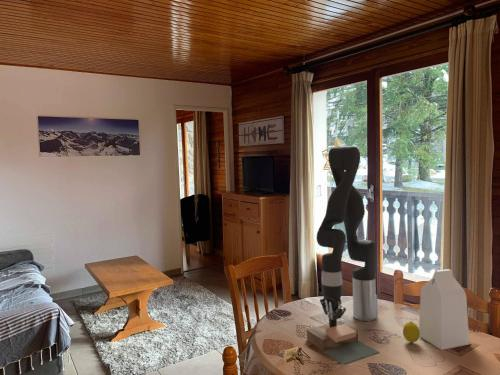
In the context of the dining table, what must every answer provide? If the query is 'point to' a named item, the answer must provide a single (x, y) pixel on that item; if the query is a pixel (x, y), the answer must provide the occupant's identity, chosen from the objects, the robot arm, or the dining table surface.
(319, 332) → the deck
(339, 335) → the pink sponge
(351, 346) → the mat
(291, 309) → the dining table surface
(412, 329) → the lemon
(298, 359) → the dining table surface
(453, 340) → the milk
